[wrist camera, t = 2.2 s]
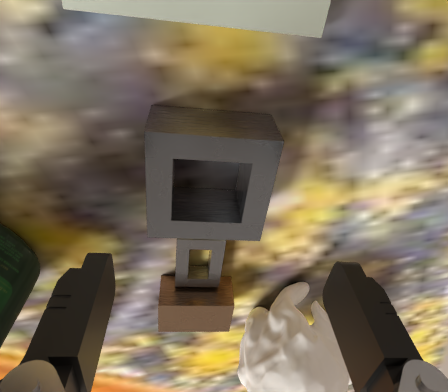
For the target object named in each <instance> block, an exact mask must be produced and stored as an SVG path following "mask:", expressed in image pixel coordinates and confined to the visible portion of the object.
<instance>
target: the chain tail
mask: <svg viewBox="0 0 448 392" xmlns="http://www.w3.org/2000/svg"><path fill="white" fill-rule="evenodd" d="M225 245H226V240H215V239H184V238H177V249H176V274H175V276H167V275H161V285H160V295H159V304H158V329H159V332H219V331H229V329H230V324H231V319H232V315H233V310H234V299H233V290H232V281H231V277H224V276H221V270H222V264H223V258H224V252H225ZM190 249H199V250H210V251H209V259H208V266H193V265H188V263H189V250H190Z"/></svg>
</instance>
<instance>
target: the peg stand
mask: <svg viewBox="0 0 448 392" xmlns="http://www.w3.org/2000/svg"><path fill="white" fill-rule="evenodd" d="M330 3H331V0H62V4H63V9H68V10H77V11H86V12H95V13H104V14H112V15H121V16H130V17H139V18H148V19H157V20H166V21H174V22H183V23H192V24H201V25H210V26H219V27H228V28H236V29H245V30H254V31H263V32H272V33H281V34H289V35H298V36H307V37H316V38H321V37H322V33H323V29H324V26H325V22H326V18H327V14H328V10H329V6H330Z"/></svg>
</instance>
